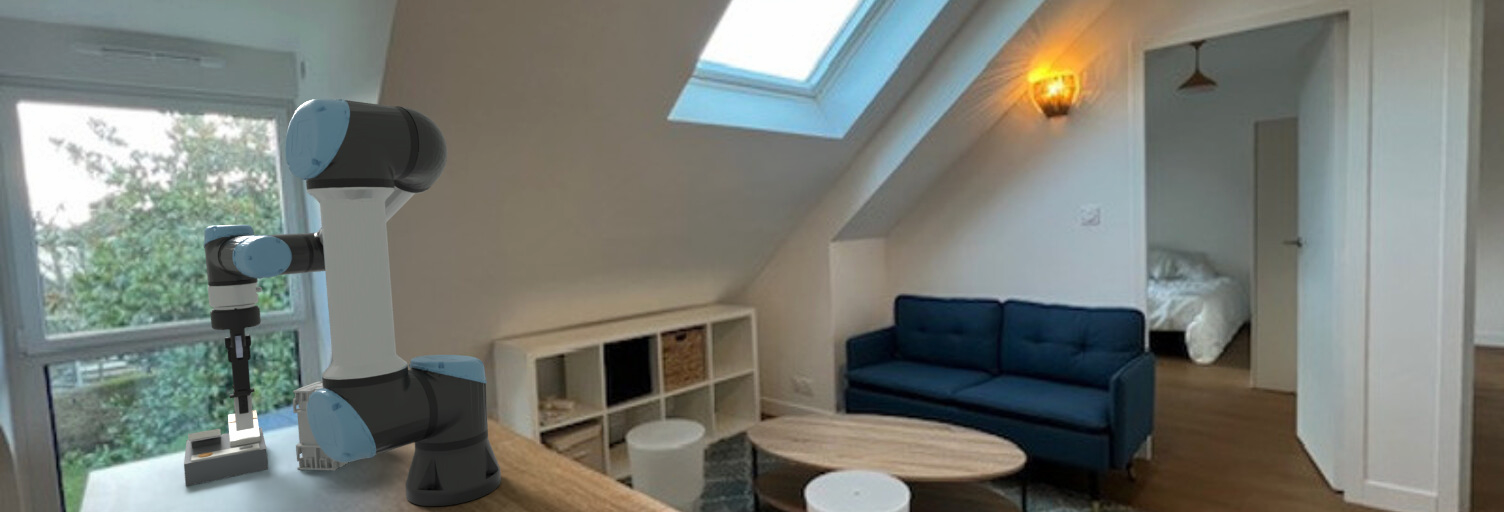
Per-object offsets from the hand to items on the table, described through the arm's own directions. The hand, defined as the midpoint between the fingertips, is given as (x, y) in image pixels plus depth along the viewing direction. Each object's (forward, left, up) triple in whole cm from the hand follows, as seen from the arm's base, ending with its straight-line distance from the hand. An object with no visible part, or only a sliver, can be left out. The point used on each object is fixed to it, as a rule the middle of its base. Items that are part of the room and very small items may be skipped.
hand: (245, 428), depth 133 cm
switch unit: (+2, +3, -7) cm, 8 cm away
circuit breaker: (-7, -15, -7) cm, 18 cm away
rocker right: (+4, 0, -1) cm, 4 cm away
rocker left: (+4, +6, -1) cm, 7 cm away
